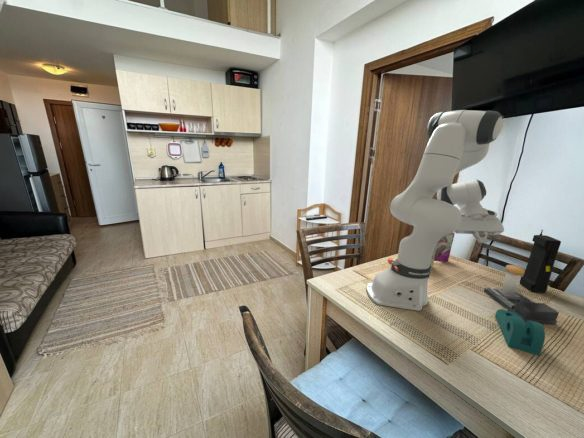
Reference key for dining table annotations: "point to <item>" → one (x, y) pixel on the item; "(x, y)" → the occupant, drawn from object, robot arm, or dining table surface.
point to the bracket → (521, 332)
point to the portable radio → (540, 263)
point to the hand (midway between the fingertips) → (483, 242)
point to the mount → (526, 308)
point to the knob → (511, 282)
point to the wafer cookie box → (444, 248)
